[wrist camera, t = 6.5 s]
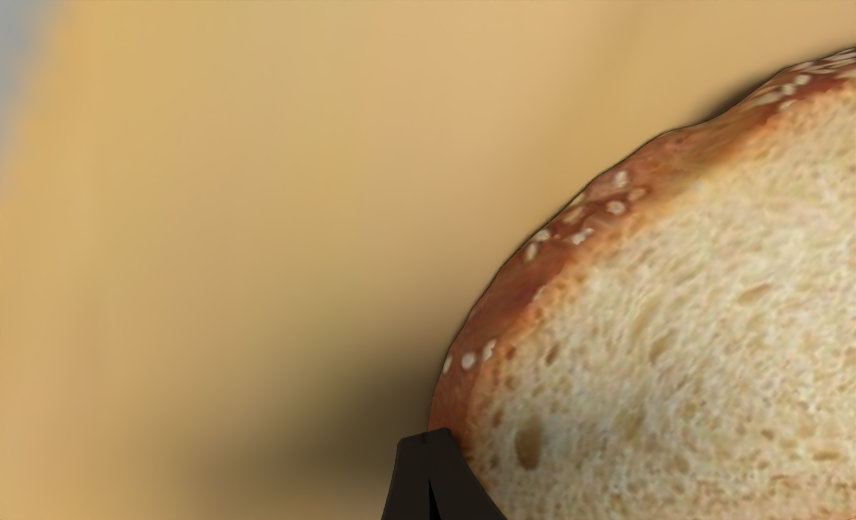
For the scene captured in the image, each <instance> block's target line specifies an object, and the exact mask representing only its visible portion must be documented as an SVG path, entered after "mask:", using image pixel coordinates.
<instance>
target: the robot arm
mask: <svg viewBox="0 0 856 520" xmlns="http://www.w3.org/2000/svg"><path fill="white" fill-rule="evenodd" d="M381 520H508V519H507V518H506V517H505V515H504V514H503V513H502V512H501V511H500V509H499V508H498V507H497V505H496V504H495V503H494V502H493V500H492V499H491V498H490V496H489V495H488V494H487V492H486V491H485V489H484V488H483V486H482V485H481V484H480V482H479V481H478V479H477V478H476V477H475V475H474V474H473V472H472V470H471V469H470V467H469V466H468V464H467V462H466V461H465V459H464V457H463V456H462V454H461V452H460V450H459V448H458V447H457V444H456V442H455V440H454V438H453V435H452V433H451V430H450V429H448V428H447V427H443V428H439V429H436V430H432V431H428V432H425V433H421V434H417V435H414V436H410V437H407V438H403V439H401V440H400V441H399V443H398V444H397V453H396V460H395V466H394V471H393V475H392V480H391V484H390V489H389V493H388V496H387V500H386V504H385V507H384V511H383V515H382V519H381Z"/></svg>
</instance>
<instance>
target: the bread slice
mask: <svg viewBox="0 0 856 520" xmlns="http://www.w3.org/2000/svg"><path fill="white" fill-rule="evenodd" d="M443 427H447V428H448V429H450V430H451V433H452V435H453V438H454V440H455V442H456V444H457V447H458V448H459V450H460V452H461V454H462V456H463V457H464V459H465V461H466V462H467V464H468V466H469V467H470V469H471V470H472V472H473V474H474V475H475V477H476V478H477V479H478V481H479V482H480V484H481V485H482V486H483V488H484V489H485V491H486V492H487V494H488V495H489V496H490V498H491V499H492V500H493V502H494V503H495V504H496V505H497V507H498V508H499V509H500V511H501V512H502V513H503V514H504V515H505V517H506V518H507V519H508V520H851V519H853V518H856V47H854V48H851V49H848V50H845V51H842V52H840V53H838V54H836V55H833V56H831V57H828V58H825V59H821V60H816V61H810V62H805V63H801V64H797V65H793V66H791V67H789V68H787V69H785V70H783V71H781V72H779V73H778V74H776V75H775V76H774V77H773V78H771V79H770V80H769V81H767V82H766V83H765V84H763V85H762V86H760V87H759V88H758V89H756V90H755V91H754V92H752V93H751V94H750V95H748V96H747V97H746V98H745V99H743V100H742V101H741V102H739V103H738V104H737V105H735V106H734V107H732V108H731V109H729V110H728V111H726V112H725V113H723V114H721V115H719V116H718V117H716V118H713V119H711V120H709V121H707V122H704V123H701V124H698V125H694V126H690V127H685V128H680V129H677V130H673V131H670V132H667V133H665V134H663V135H661V136H659V137H657V138H656V139H654V140H652V141H651V142H649V143H648V144H646V145H645V146H643V147H642V148H641V149H640V150H639V151H637V152H636V153H635V154H633V155H632V156H630V157H629V158H627V159H626V160H625V161H623V162H622V163H620V164H618V165H617V166H615V167H613V168H612V169H610V170H609V171H607V172H605V173H604V174H602V175H600V176H599V177H597V178H596V179H595V180H593V181H592V182H591V183H590V184H589V186H588V187H587V188H586V189H585V190H584V191H583V192H582V193H581V194H579V195H578V196H577V197H576V198H575V199H574V200H573V201H572V202H571V203H570V204H569V205H568V206H567V207H566V208H565V209H564V210H563V211H562V212H561V213H560V214H559V215H558V216H556V217H555V218H554V219H553V220H552V221H550V222H549V223H548V224H547V225H546V226H545V227H543V228H542V229H541V230H540V231H538V232H537V233H536V234H535V235H534V236H533V237H532V238H531V239H529V240H528V242H527V243H526V244H525V245H524V246H523V247H522V248H521V249H520V250H519V251H518V252H517V253H516V254H515V255H514V256H513V257H512V258H511V259H510V260H509V261H508V262H507V263H506V264H505V265H504V266H503V267H502V268H501V270H500V271H499V273H498V274H497V276H496V278H495V279H494V281H493V282H492V284H491V286H490V287H489V289H488V290H487V291H486V293H485V294H484V295H483V296H482V298H481V299H480V300H479V301H478V303H477V304H476V305H475V306H474V307H473V309H472V310H471V312H470V315H469V318H468V320H467V322H466V324H465V326H464V327H463V329H462V330H461V332H460V333H459V335H458V336H457V337H456V339H455V341H454V342H453V344H452V345H451V347H450V349H449V351H448V354H447V357H446V360H445V363H444V366H443V369H442V372H441V375H440V378H439V381H438V383H437V386H436V388H435V390H434V393H433V399H432V404H431V412H430V416H429V424H428V431H432V430H436V429H439V428H443Z"/></svg>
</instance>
